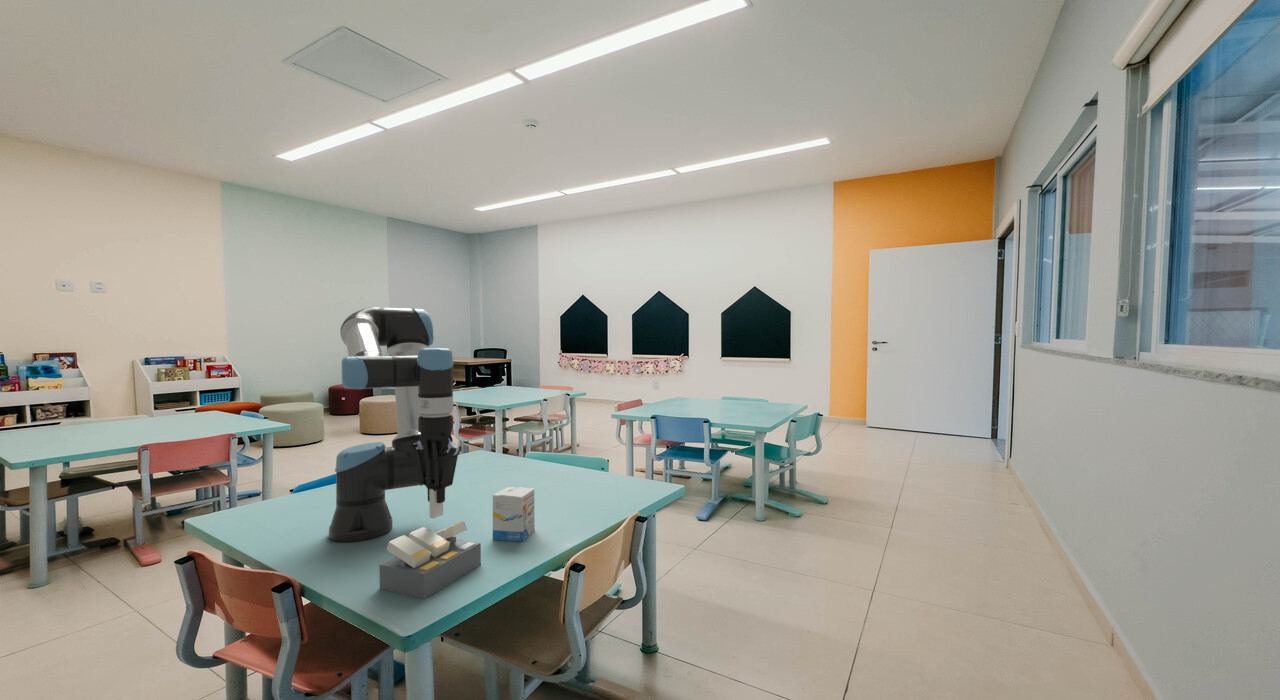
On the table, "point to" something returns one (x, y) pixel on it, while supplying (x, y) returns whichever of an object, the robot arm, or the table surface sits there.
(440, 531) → the rocker
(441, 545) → the rocker
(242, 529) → the table surface
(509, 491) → the ink box
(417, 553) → the rocker
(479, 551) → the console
